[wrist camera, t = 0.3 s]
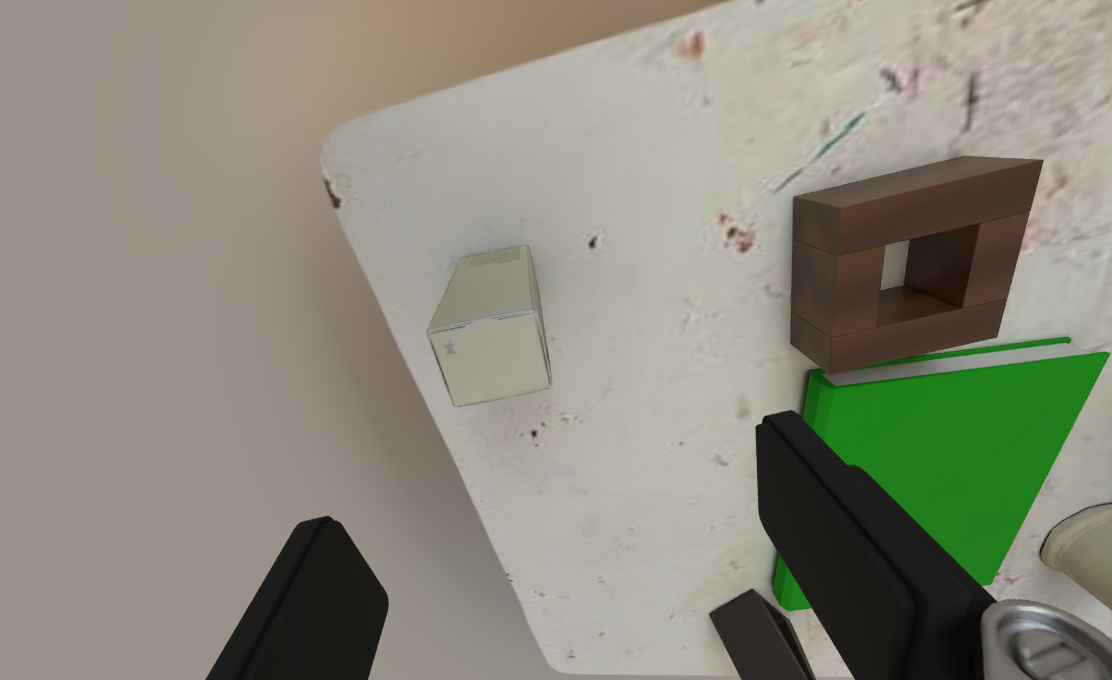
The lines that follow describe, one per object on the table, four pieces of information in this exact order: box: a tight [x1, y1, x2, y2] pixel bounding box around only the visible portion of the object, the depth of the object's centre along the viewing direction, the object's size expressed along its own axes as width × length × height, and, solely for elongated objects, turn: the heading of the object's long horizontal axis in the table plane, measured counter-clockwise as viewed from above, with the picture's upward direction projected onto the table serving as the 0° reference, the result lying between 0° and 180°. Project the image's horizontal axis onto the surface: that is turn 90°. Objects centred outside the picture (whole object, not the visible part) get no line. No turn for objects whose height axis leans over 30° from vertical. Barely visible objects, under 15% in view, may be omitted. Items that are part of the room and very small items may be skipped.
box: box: [426, 246, 552, 407], centre depth 25 cm, size 5×4×13 cm
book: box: [773, 337, 1110, 611], centre depth 41 cm, size 22×28×3 cm
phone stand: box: [709, 590, 816, 680], centre depth 45 cm, size 9×6×12 cm, turn 42°
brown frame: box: [791, 156, 1044, 374], centre depth 30 cm, size 12×12×5 cm
